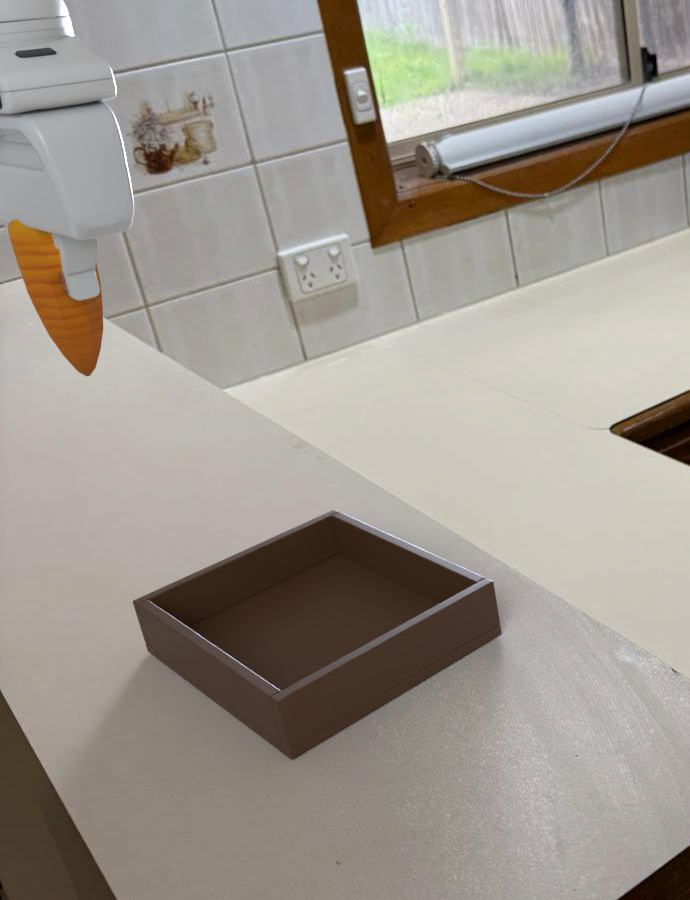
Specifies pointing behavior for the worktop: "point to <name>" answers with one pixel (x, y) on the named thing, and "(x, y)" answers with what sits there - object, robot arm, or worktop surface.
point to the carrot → (58, 298)
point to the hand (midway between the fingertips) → (65, 291)
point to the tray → (317, 627)
